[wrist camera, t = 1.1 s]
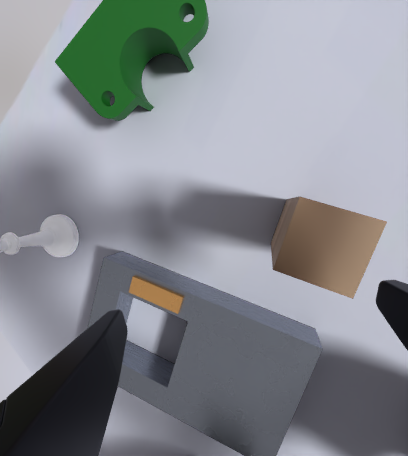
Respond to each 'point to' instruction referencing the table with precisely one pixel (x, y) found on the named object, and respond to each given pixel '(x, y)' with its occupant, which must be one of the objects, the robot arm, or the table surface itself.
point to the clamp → (129, 49)
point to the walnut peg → (324, 244)
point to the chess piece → (46, 237)
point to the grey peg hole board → (213, 356)
